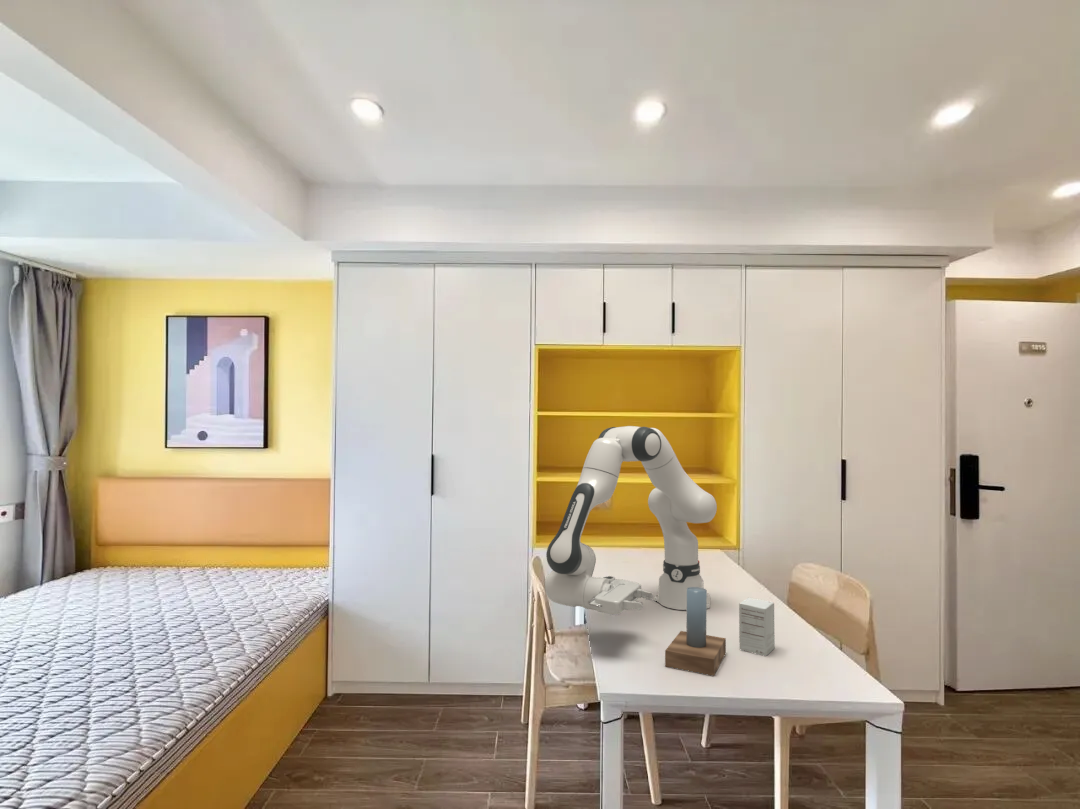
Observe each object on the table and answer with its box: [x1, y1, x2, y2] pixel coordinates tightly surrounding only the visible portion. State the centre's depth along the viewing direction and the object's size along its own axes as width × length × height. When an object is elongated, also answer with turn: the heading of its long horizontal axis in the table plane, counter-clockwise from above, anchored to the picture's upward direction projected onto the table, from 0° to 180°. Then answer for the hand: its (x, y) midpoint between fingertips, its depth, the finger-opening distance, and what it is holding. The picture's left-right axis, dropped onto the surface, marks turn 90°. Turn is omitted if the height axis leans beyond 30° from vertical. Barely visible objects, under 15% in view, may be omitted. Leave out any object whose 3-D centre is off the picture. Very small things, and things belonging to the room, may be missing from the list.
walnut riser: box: [664, 630, 727, 677], centre depth 157 cm, size 16×12×4 cm
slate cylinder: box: [685, 587, 708, 648], centre depth 157 cm, size 5×5×14 cm
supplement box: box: [738, 597, 776, 657], centre depth 164 cm, size 7×7×13 cm
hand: (647, 601), depth 163 cm, fingers open, 8 cm apart
